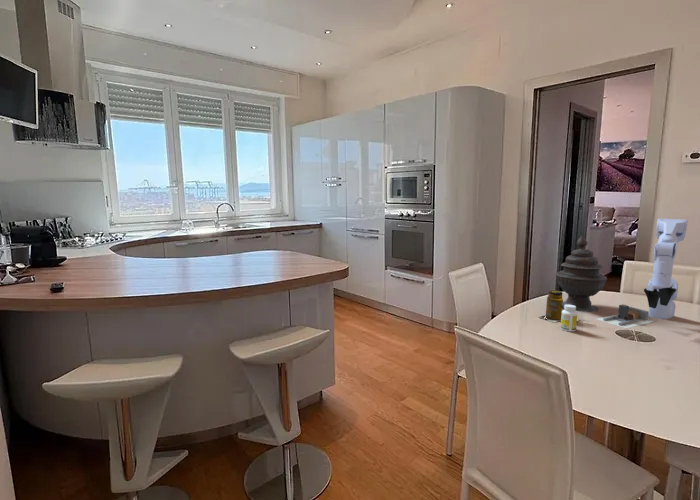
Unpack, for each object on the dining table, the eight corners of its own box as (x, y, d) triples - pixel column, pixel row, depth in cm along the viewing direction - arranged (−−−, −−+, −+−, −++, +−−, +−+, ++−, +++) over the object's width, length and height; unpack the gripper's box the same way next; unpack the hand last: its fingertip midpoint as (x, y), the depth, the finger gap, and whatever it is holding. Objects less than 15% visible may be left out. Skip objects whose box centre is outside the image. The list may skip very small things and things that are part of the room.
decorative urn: (615, 316, 164) (616, 235, 161) (564, 317, 168) (564, 238, 165) (594, 305, 184) (594, 233, 181) (549, 305, 188) (548, 235, 184)
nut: (629, 316, 162) (630, 309, 162) (640, 319, 159) (641, 312, 158) (624, 317, 161) (624, 310, 160) (634, 320, 157) (635, 313, 157)
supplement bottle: (574, 328, 153) (576, 304, 151) (577, 332, 148) (579, 308, 146) (559, 326, 155) (561, 303, 153) (561, 331, 150) (563, 307, 148)
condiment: (565, 319, 164) (567, 292, 162) (554, 322, 159) (557, 295, 157) (548, 314, 170) (551, 288, 168) (538, 317, 165) (540, 291, 163)
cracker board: (624, 315, 167) (625, 305, 167) (655, 324, 157) (656, 312, 156) (595, 322, 159) (596, 310, 159) (625, 331, 149) (626, 319, 148)
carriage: (623, 317, 161) (625, 302, 160) (634, 320, 157) (636, 305, 156) (614, 319, 158) (616, 304, 157) (625, 322, 154) (627, 307, 153)
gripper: (661, 269, 154) (657, 301, 157) (639, 272, 149) (635, 305, 151) (682, 272, 148) (677, 306, 150) (660, 276, 142) (656, 310, 144)
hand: (658, 306), depth 150 cm, fingers open, 7 cm apart
